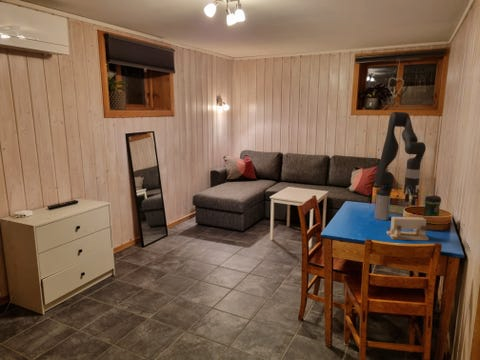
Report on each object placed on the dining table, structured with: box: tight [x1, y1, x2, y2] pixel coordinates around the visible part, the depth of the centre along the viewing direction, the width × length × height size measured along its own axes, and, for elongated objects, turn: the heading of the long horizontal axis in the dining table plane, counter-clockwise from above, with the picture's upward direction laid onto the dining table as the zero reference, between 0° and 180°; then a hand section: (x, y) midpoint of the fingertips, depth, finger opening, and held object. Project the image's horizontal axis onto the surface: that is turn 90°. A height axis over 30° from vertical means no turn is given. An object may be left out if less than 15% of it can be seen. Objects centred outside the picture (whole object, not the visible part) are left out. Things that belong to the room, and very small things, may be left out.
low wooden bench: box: [386, 226, 430, 241], centre depth 203 cm, size 11×20×8 cm, turn 87°
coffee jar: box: [423, 195, 442, 217], centre depth 230 cm, size 10×8×19 cm
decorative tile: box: [389, 204, 406, 217], centre depth 258 cm, size 19×20×4 cm
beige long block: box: [390, 216, 427, 230], centre depth 203 cm, size 5×18×6 cm, turn 85°
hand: (409, 203), depth 201 cm, fingers open, 8 cm apart
